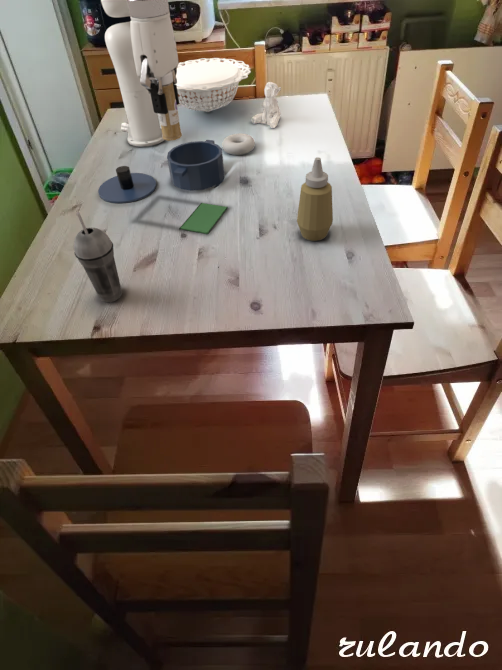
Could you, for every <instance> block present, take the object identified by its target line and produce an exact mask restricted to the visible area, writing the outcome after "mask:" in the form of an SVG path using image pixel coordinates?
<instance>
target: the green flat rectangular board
mask: <svg viewBox="0 0 502 670" xmlns="http://www.w3.org/2000/svg"><path fill="white" fill-rule="evenodd" d="M227 210H228V206H225V205H224V206H223V205H219V204H213V203H212V204H211V203H204V202H200V203H199V205H198V206H197V207H196V208H195V209H194V211H193V212H192V213H191V214H190V215H189V216H188V217H187V219H186V220H185V221H184V222H183V223H182V224H181V226H180V227H179V228H178V230H182V231H189V232H194V233H197V234H198V233H200V234H205V235H209V233H210V231H211V230H212V229H213V228H214V226H215V225H216V224H217V222H218V221H219V220H220V219H221V217H223V215H224V213H225V212H226V211H227Z"/></svg>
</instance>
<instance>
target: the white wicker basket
mask: <svg viewBox="0 0 502 670" xmlns="http://www.w3.org/2000/svg"><path fill="white" fill-rule="evenodd" d="M251 70H252V69H251V67H250V65H249V64H246V63H245V61H243V60H236V59H234V58H226V57H224V58H221V57H212V58H205V57H204V58H203V57H202V58H198V59H197V58H196V59H189V60H185V61H183V62H182V61H181V62H180V61H179V64H178V67H177V74H176V78H177V84H175V85H177V92H178V98H179V105H180V106H182V107H184V108H185V109H188V110H191V111H197V112H205V113H210V112H211V111H214V110H218V109H221V108H225V107H226V106H228V105H229V104H230V103H231V102H232V101H233V100H234V99H235V96H236V94H237V91H238V89H239V83H240V82H241V81H242V80H245V79H248V78H249V76H248V75H250V74H251V73H252V71H251ZM185 96H186V97H185Z"/></svg>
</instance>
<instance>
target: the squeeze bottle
mask: <svg viewBox="0 0 502 670" xmlns="http://www.w3.org/2000/svg"><path fill="white" fill-rule="evenodd" d="M299 193H300V194H299V200H298V209H297V216H296V222H297V226H298V228H299V232H300V234H301V237H302V238H303V239H305V240H308V241H311V242H316V241H321V240H323V239H325V238H326V237H327V236H328V234H329V232H330V229H331V227H332V225H333V221H334V213H333V212H334V211H333V210H334V209H333V208H334V207H333V186H332V185H331V183H330V182H329V174H328V173H327V172H326V171H324V170H323V165H322V158H321V157H318V156H317V157H314V160H313V165H312V168H311V171H309V172H307V173H306V174H305V182H303V184H301V187H300V192H299Z"/></svg>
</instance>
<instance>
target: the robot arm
mask: <svg viewBox="0 0 502 670" xmlns="http://www.w3.org/2000/svg"><path fill="white" fill-rule="evenodd" d="M100 3H101V6H102V8H103V10H104V13H105V14H106V15H107V16H108V17H111V18H126V17H130V21H125V22H119V23H115V24H112V25H111V26H109V27H108V28H107V29H106V31H105V33H104V42H105V45H106V49H107V52H108V54H109V56H110V57H109V58H110V60H111V62H112V65H113V69H114V71H115V74H116V78H117V82H118V86H119V90H120V93H121V98H122V102H123V106H124V110H125V115H126V118H127V122H121V123H120V124H121V125H120V126H121V127H120V132H124V133H127V134H128V135H127V138H126V139H127V143H128V144H129V145H130V146H133V147H138V148H146V147H152V146H156V145H159V144H161V143H163V142H164V141H166V140H165V139H163V137H162V135H163V134H162V129H161V124H160V121H159V116H158V113H159V114H167V113H168V108H167V103H166V97H165V93H163V90H162V77H163V76H164V75H165V74H167V73H168V72H170V71H171V72H172V76H173V87H174V93H175V99H176V104H177V106H178V105H180V103H179V98H178V96H179V94H178V92H177V85H175V84H177V78H176V74H177V67H178V64H179V63H180V60H179V55H178V48H177V42H176V37H175V33H174V28H173V24H172V19H171V12H170V6H169V5H170V4H169V0H100ZM151 74H154V77H152V76H151ZM152 80H154V81H157V86H156V84H155V83H153V81H152Z"/></svg>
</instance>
